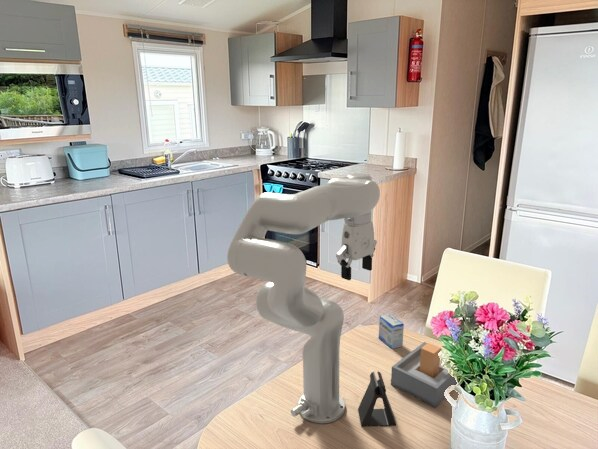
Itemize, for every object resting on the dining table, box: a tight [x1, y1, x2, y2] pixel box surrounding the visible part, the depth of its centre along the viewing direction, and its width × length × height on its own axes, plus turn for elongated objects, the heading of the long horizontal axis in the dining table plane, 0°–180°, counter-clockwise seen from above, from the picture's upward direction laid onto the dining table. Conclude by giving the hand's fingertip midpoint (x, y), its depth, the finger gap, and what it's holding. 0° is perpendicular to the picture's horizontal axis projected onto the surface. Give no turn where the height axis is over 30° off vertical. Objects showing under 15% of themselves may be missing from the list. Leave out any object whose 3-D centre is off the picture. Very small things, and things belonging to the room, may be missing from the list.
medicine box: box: [378, 313, 405, 350], centre depth 146 cm, size 8×4×9 cm, turn 25°
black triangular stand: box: [357, 371, 397, 428], centre depth 111 cm, size 9×6×12 cm, turn 90°
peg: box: [420, 342, 442, 378], centre depth 125 cm, size 4×4×10 cm
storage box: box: [390, 341, 457, 408], centre depth 126 cm, size 18×14×6 cm
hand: (356, 273), depth 127 cm, fingers open, 9 cm apart
